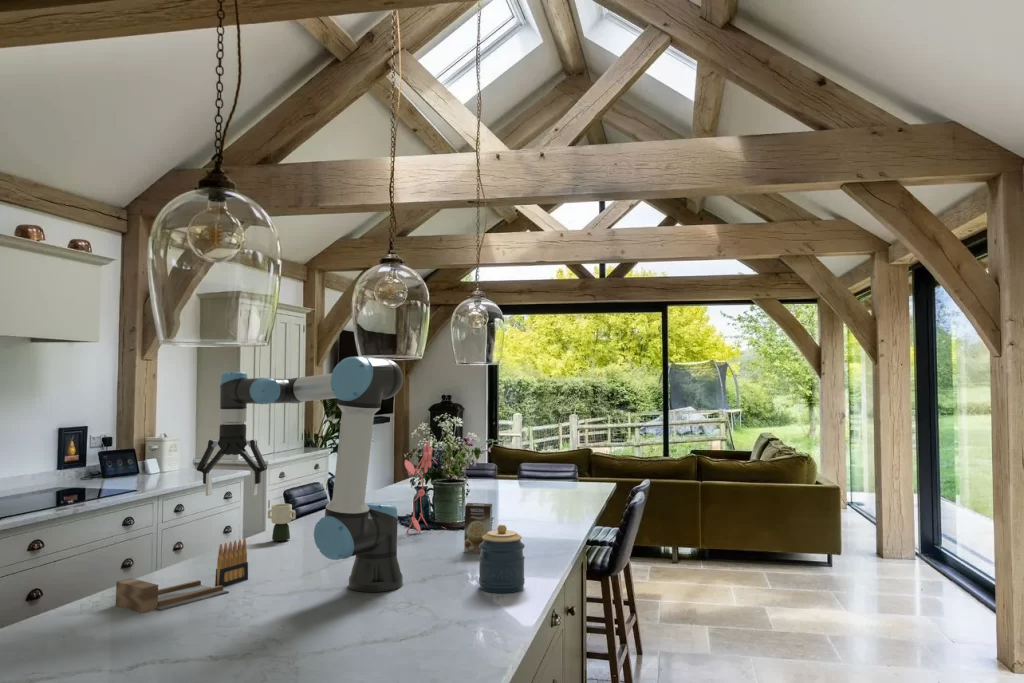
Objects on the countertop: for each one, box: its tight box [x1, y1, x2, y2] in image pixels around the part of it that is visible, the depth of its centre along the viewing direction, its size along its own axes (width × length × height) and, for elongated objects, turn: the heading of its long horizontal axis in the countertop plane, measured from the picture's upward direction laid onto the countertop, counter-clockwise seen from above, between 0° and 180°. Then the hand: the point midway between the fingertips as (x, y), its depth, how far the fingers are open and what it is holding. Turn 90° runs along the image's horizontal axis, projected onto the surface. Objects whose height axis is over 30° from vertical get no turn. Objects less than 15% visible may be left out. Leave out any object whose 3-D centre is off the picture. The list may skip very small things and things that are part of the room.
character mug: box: [267, 503, 297, 542], centre depth 275 cm, size 11×7×13 cm, turn 80°
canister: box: [478, 523, 526, 594], centre depth 212 cm, size 13×13×18 cm
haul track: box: [115, 577, 229, 614], centre depth 200 cm, size 16×24×6 cm
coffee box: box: [463, 502, 493, 554], centre depth 259 cm, size 9×6×16 cm
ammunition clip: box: [214, 537, 249, 588], centre depth 216 cm, size 11×2×12 cm, turn 154°
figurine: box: [404, 441, 447, 535], centre depth 296 cm, size 15×26×35 cm, turn 168°
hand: (231, 495), depth 224 cm, fingers open, 13 cm apart
